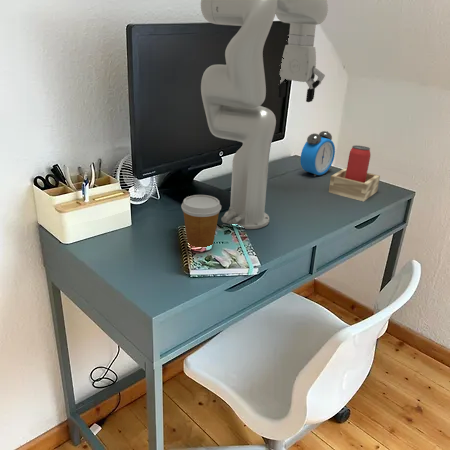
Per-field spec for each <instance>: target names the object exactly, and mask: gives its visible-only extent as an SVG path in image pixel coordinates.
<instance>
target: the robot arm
mask: <svg viewBox="0 0 450 450" xmlns="http://www.w3.org/2000/svg"><path fill="white" fill-rule="evenodd" d="M328 6H329V5H328V0H200V11H201V13H202V16H203V18H204V20H206V21H207V22H208V23H210V24H214V25H222V26H238V27H240V28H239V30H238V31H237V33H235V34H234V35H233V37H232V38H231V39H230V41H229V42H228V43H227V46H226V48H225V52H224V57H225V63H226V64H212V65H210V66H209V67H207V68H206V69H205V71H203V75H202V77H201V81H200V82H201V83H200V92H201V100H202V103H203V104H202V105H203V109H204V112H205V116H206V122H207V126H208V128H209V131H210V133H211V135H213V136H214V137H215V138H219V139H223V140H224V139H225V140H229V141H237V142H240V143H242V146H241V147H240V148H239V149H238V150H236V152H235V153H234V155H233V157H232V165H231V166H232V168H231V188H230V202H229V203H230V206H229V208H228V210H227V211H226V212H225V213H224V215H223V216H221V219H220V220H221V222H222V223H224V224H227V225H229V224H238V225H241V226H243V227H244V228H245V229H244V230H256V229H257V230H258V229H261V228H265V227H266V226H267V225H269V223H270V216H269V214H267V213H266V211H265V208H266V207H265V206H266V196H267V187H268V185H267V184H268V174H269V173H268V172H269V162H270V161H269V160H270V153H271V148H272V147H271V146H272V141H273V138H274V134H275V131H276V124H277V120H276V119H277V118H276V115H275V114H274V112H273V111H272V110H271V109H270V108H268V107H264V106H262V104H263V103H264V102H265V100H266V95H267V94H266V93H267V88H266V87H267V86H266V85H267V84H266V75H265V67H264V57H263V56H264V55H263V53H264V52H263V51H264V46H265V43H266V40H267V38H268V36H269V33H270V30H271V27H272V26H273V22H274V20H275V17H276V18H277V19H278V20H279V22H281V23H285V24H289V34H288V36H289V38H288V41H287V43H288V44H285V46H284V50H283V54H282V57H283V58H284V59H283V58H282V57H281V62H282V63H280V65H281V69H280V71H279V75H280V77H281V80H280V86H279V85H278V89H279V94H278V98H280V99H281V98H284V97H286V91H287V84H286V82H283V81H284V80H285V79H286V80H287V81H293V82H300V83H302V82H303V83H306V85H307V86H308V88H307V91H306V98H305V102H306V103H310V102H313V100H314V98H315V93H316V92H315V91H316V89H317V88H318V87H319V85H321V84H322V82H323V80H324V79H325V77H326V75H325V74H324V73H323V72H322V71H321V70H319V69H318V68H316V67H317V66H316V65H317V54H316V53H317V52H316V46H314V45H315V37H316V36H315V35H316V26H318V25H321V24H322V23H323V22H324V21H325V20H326V17H327V15H328V11H329V7H328ZM315 77H317V79H316V80H315Z"/></svg>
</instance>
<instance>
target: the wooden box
mask: <svg viewBox="0 0 450 450" xmlns="http://www.w3.org/2000/svg"><path fill="white" fill-rule="evenodd" d="M346 170H347V167H344V168H343V169H341V170H339V171H337V172H336V173H334V174H332V175H330V181H329V186H328V193H329V194H333V195H338V196H341V197H345V198H348V199H353V200H357V201H360V202H363V203H364V202H365V201H367V200H368V199H370V198H371V197H372V196H373V195H374V194H376V193H378V191H379V190H378V189H379V184H380V179H381V175H378V174H374V173H370V172H367V176H366V182H365V183H363V182H359V181H355V180H351V179H347V178H345V176H346Z"/></svg>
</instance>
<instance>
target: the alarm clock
mask: <svg viewBox="0 0 450 450" xmlns="http://www.w3.org/2000/svg"><path fill="white" fill-rule="evenodd" d="M300 153H301V154H300V166H301V168H302V170H304V172H307V173H310V174H313V177H314V178H315V177H317V176H322V175H324V174H327V172H328V171H329V170H330V168H331V167H332V164H333V162H334V159H335V154H336V147H335V144H334V142H333V135H332V133H330V132H329V131H327V130H324V131H323V130H322V131H319V133H314V132H313V133H311V134H309V135H308V136H307V137H306V142H305V143H304V144H303V147H302V149H301V152H300Z"/></svg>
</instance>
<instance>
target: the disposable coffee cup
mask: <svg viewBox="0 0 450 450" xmlns="http://www.w3.org/2000/svg"><path fill="white" fill-rule="evenodd" d="M180 207H181V210H182V212H183V219H184V227H185V236H186V243H187V242H188V243H189V244H190V245H192V246H195V247H207V246H210V245H212V244H213V245H214V243H213V242H215V235H216V232H217V226H218V221H219V215H220V211H221V210H222V205H221V202H220V200H219V199H218V198H217V197H215V196H213V195H207V194H193V195H190V196H189V195H188V196H186V197H185V198H184V199H183V201H182V203H181V206H180Z"/></svg>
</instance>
